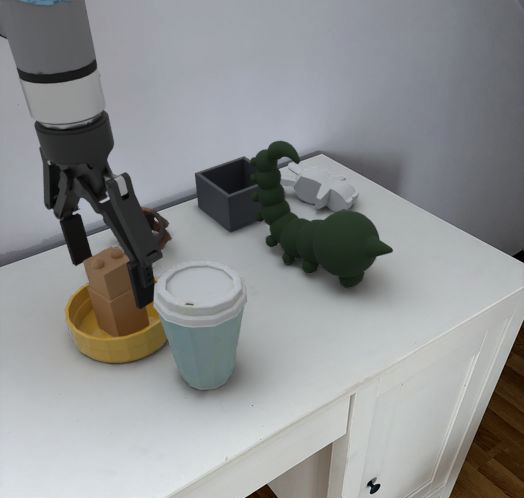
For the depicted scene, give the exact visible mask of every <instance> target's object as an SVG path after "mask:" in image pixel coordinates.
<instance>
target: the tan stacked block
mask: <svg viewBox="0 0 524 498" xmlns="http://www.w3.org/2000/svg"><path fill="white" fill-rule="evenodd" d="M129 261H130V260H129V258H128V257H127V256H126V255H125V254H124V250H123V249H122V247H118V246H115V247H113V246H108V247H107V248H105V249H103V250H100V251H99V252H98V253H95V254H93V255H92V257H90V258H88V259H86V260H84V261H83V263H82V264H83V267H84V270H85V274H86V278H87V281H88V283H89V284H90V285H89V286H87V289H88V292H89V295H90V299H91V302H92V305H93V309H94V312H95V316H96V319H97V322H98V326H99V327H100V328H101V329H103V330H104V331H105V332H107V333H108V334H110V335H111V336H112V337H121V336H127V335H130V334H133V333H136V332H138V331H140V330H141V329H143V328H145V327H146V326H148V325H149V320H148V315H147V310H146V306H145V307H143V308H142V309H139V308H137V307H136V303H135V298H134V294H133V290H132V285H131V281H130V277H129V273H128V268H127V264H126V263H127V262H129Z"/></svg>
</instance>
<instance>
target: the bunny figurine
mask: <svg viewBox="0 0 524 498" xmlns="http://www.w3.org/2000/svg"><path fill="white" fill-rule="evenodd" d="M287 169H288V170H289V171H290V172H292V173H294V175H296V177H295V176H290V175H285V174H283V173H281V182H280V184H281V185H282V186H283V187H292V188H293V189H294V193H295V194H296V196H297V198H298V199H299V200H301V201H303V202H305V203H308V204H311V205H314V209H317V210H321V209H322V208H325V207H327V208H328V209H329V210H330V211H332V212H334V213H336V212H339V211H349V209H350V208H351V207H352V205H354V204H355V203H356V202H357V201H358V199H359V196H360V193H359V192H357V191H356V189H355V188H354V186H353V184H352V183H351V182H350V181H348V180H346V179H347V177H346V176H345V175H343V174H338V175H332V174H331V173H330V171H329V170H327V169H326V168H324V167H321V166H318V165H313V166H310V167H308V168H305V169H304V168H303V167H302V166H301V165H300V163H299V164H296V163H295V162H293V161H291V162H289V163H288V164H287Z"/></svg>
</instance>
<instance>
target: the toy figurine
mask: <svg viewBox="0 0 524 498" xmlns="http://www.w3.org/2000/svg"><path fill="white" fill-rule="evenodd" d="M283 158H287V159H289V160H291V162H295V163H296V164H299V165H300V163H301V158H300V155H299V154H298V151H297V149H296V148H295V147H294V146H293V144H291V143H289V141H288V142H287V141H285V140H276V141H273V142H271V143H270V144H269V145H268V147H267V148H266V149H261V150H260V151H258V152H257V153H256V155H255V156H253V157H251V158H250V164H251V165H252V166H255V167H256V169H257V171H256V174H252V175H251V177H250V181H251V182H252V183H255V184H256V183H257V185H258V186H259V189H258V193H257V192H255V193H253V194H252V196H251V199H252V201H254V202H258V201H259V202H260V204H261V205H262V207H261V210H260V211H257V212H256V213H255V217H254V218H255V219H256V221H257V222H259V223H262V222H264V224H266V225H267V226H269V233H270V234H269V235H267V236H266V237H265V245H266V246H267V247H269V248H275V247H277V246H278V245H280V247H281V250H282V251H283V253H282V256H281V259H282V261H283V263H284V264H287V265H291V264H293V263H294V262H295V261H296V259H299V260H301V263H300V268H301V270H302V271H303V273H305V274H308V275H311V274H314V273H315V272H317V271H318V270H319V266H320V267H321V268H322V269H323V270H324V271H326V273H329V274H330V275H332V276H335V277H338V281H339V284H340V285H341V287H343V288H346V289H351V288H353V287H355V286H357V285H358V284H360V283H361V282H362V281H363V279H364V277H365V274H366V273H365V272H366V271H368V269H370V268H371V267H372V265H373V264H374V263H375V261H376V260H377V257H381V256H385V255H388V254H393V253H394V248H392V247H391V246H390V245H388V244H387V243H385V242H384V241H382V240H381V239H380V233H379V231H378V229H377V227H376V225H375V223H373V221H372V220H371V219H370V218H369V217H368V216H366V215H365V214H363V213H361V212H358V211H355V210H341V211H337V212H334V213H331V214H329V215H328V216H327V217H326V218H324V219H321V218H320V219H319V218H318V219H317V218H315V219H311V220H309V219H307V218H303V217H299V216H298V215H297V214H295V213H294V212H293V211H292V210H291V207H290V204H289V202H288V201H287V200H286V191H285V187H284V186H282V185H281V184H280V182H281V174H282V173H281V170H280V169H279V167H278V162H279V160H281V159H283Z"/></svg>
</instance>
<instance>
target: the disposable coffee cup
mask: <svg viewBox="0 0 524 498" xmlns="http://www.w3.org/2000/svg"><path fill="white" fill-rule="evenodd" d="M157 279H158V282H157V283H156V284H155V286H154V304H153V307H154V308H155V309H156V310H157V311H158V314H159V317H160V319H161V322H162V325H163V328H164V330H165V333H166V336H167V339H168V340H167V341H168V344H169V347H170V350H171V352H172V355H173V358H174V362H175V364H176V366H177V369H178V372H179V374H180V376H181V377H182V379H183V380H184V381H185V382H186V384H187V385H188V386H189V387H191V388H194V389H197V390H199V391H210V390H212V391H213V390H215V389H218V388H220V387H222V386H225V384H226V383H227V382H228V380H229V378H230V377H231V376H232V374H233V372H234V370H235V369H234V368H235V364H236V363H235V362H236V357H237V351H238V345H239V344H238V343H239V339H240V333H241V327H242V321H243V316H244V309H245V306H246V304H247V303H248V302H249V301H248V294H247V286H246V282H245V279H244V278H243V277H242V276H241V275H240V274H239V273H237V272H236V271H235V270H234V269H233V268H232V267H230V266H229V265H226V264H222V263H219V262H216V261H211V260H197V261H195V260H193V261H186V262H184V263H180V264H178V265H175V266H171V267H170V268H169V267H168V269H167V270H166V271H165V272H164V273H163V274H161V276H159V278H157Z"/></svg>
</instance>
